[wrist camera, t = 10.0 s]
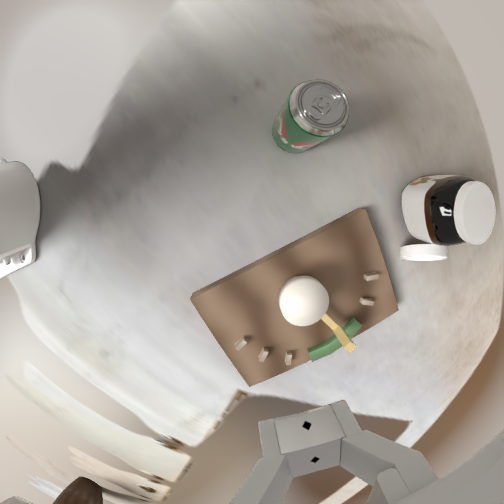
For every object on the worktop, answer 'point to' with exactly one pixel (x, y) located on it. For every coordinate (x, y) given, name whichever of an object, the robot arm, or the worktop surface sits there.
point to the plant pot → (81, 493)
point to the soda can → (310, 116)
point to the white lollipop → (309, 306)
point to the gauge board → (268, 289)
